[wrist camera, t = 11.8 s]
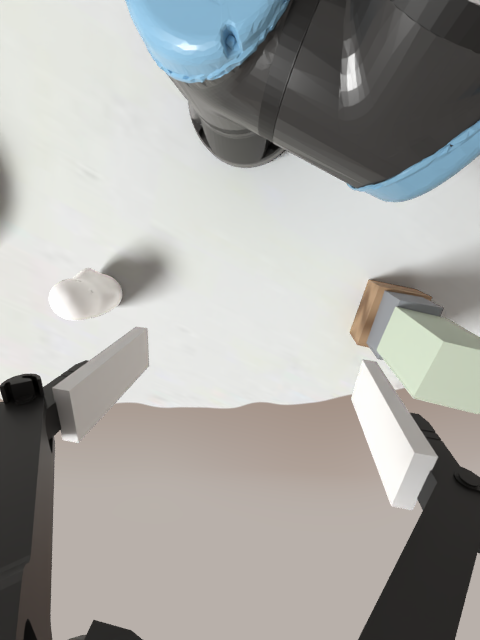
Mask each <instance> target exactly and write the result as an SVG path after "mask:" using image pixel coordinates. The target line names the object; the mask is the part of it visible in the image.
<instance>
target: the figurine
mask: <svg viewBox="0 0 480 640" xmlns="http://www.w3.org/2000/svg"><path fill="white" fill-rule="evenodd" d="M121 299H122V289H121V286H120V285H119V283H118V282H117V281H116V280H115V279H114V278H113V277H111V276H108V275H105V274H102V273H99V272H97V271H95V270H93V269H91V268H86V269H84V270H82V271H80V272H79V273H78V274H77V275H75V276H74V277H73V278H72V279H66V280H63V281H60V282H59V283H57V284H56V285H55V286H54V287H53V288H52V289H51V291H50V294H49V303H50V306H51V308H52V309H53V311H54V312H55V313H56V314H57V315H59V316H60V317H62V318H64V319H67V320H85V319H89V318H95V317H98V316H101V315H103V314H106V313H108V312H109V311H111V310H113V309H114V308H115V307H117V306H118V304H119V303H120V301H121Z"/></svg>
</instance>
